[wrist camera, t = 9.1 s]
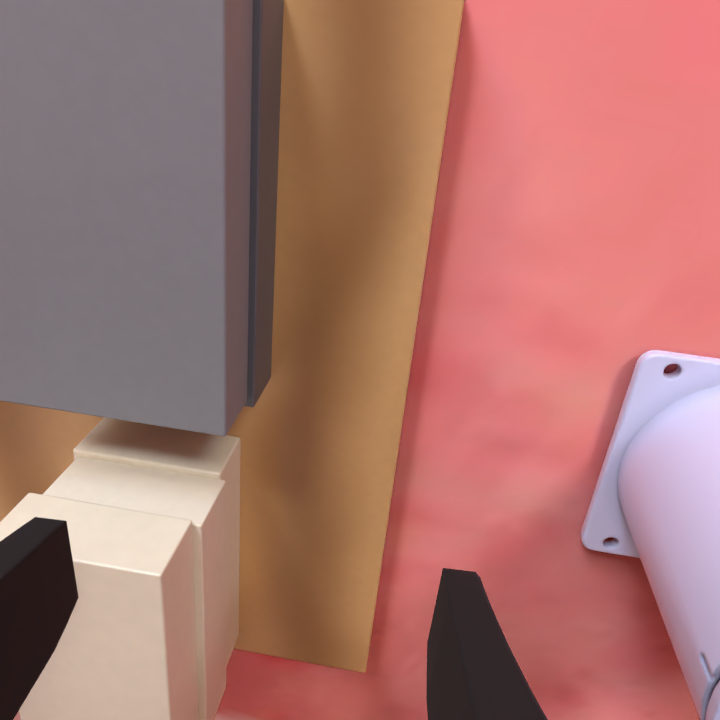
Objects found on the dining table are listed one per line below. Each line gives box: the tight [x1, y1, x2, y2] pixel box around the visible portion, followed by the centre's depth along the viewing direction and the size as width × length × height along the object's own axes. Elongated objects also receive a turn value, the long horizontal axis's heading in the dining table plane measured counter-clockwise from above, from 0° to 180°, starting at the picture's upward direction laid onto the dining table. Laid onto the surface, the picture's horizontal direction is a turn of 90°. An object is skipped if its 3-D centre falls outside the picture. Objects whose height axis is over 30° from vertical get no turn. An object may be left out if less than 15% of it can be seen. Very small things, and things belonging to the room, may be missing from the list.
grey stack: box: [0, 0, 284, 436], centre depth 17 cm, size 7×11×4 cm, turn 175°
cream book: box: [0, 493, 199, 720], centre depth 19 cm, size 5×10×2 cm, turn 175°
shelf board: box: [0, 0, 465, 673], centre depth 22 cm, size 16×25×1 cm, turn 175°
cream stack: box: [42, 417, 241, 720], centre depth 22 cm, size 5×10×4 cm, turn 175°
